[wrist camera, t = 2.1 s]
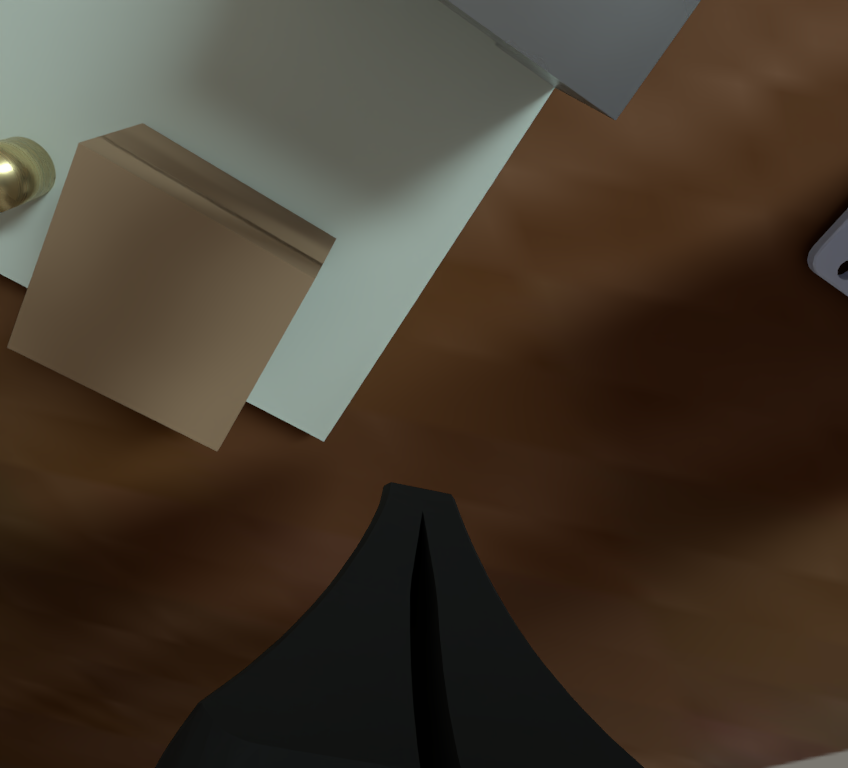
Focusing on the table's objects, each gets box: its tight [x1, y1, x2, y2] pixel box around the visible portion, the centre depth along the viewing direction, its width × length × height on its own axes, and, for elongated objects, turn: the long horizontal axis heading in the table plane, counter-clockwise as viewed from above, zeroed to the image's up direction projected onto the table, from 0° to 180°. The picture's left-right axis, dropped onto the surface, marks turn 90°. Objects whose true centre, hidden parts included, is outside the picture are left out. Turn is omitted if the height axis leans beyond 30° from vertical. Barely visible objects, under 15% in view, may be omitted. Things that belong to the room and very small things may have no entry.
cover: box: [7, 123, 336, 451], centre depth 16 cm, size 5×5×3 cm
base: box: [0, 0, 555, 441], centre depth 14 cm, size 13×17×3 cm
